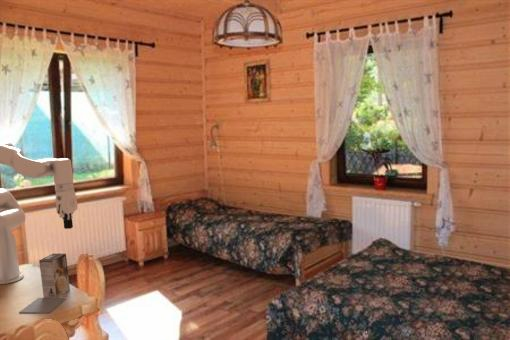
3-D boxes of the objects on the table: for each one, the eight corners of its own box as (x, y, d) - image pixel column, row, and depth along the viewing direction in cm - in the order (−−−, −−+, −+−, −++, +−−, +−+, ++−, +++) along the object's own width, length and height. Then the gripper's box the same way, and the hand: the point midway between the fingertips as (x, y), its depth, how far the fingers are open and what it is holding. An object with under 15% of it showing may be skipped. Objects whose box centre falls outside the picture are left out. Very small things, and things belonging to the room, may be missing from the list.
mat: (19, 313, 170) (19, 312, 170) (38, 298, 183) (38, 297, 183) (49, 313, 169) (49, 312, 169) (66, 298, 181) (66, 297, 181)
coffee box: (56, 289, 192) (53, 252, 190) (70, 289, 191) (66, 253, 189) (42, 298, 183) (38, 260, 181) (56, 298, 182) (52, 260, 180)
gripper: (63, 189, 187) (68, 232, 190) (80, 183, 202) (84, 223, 205) (46, 190, 188) (51, 233, 191) (64, 184, 203) (68, 224, 205)
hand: (68, 228), depth 198 cm, fingers closed
